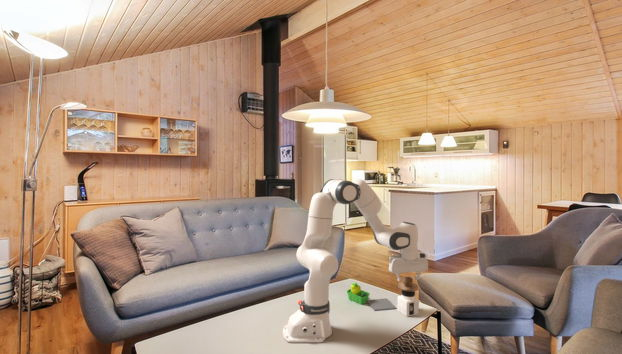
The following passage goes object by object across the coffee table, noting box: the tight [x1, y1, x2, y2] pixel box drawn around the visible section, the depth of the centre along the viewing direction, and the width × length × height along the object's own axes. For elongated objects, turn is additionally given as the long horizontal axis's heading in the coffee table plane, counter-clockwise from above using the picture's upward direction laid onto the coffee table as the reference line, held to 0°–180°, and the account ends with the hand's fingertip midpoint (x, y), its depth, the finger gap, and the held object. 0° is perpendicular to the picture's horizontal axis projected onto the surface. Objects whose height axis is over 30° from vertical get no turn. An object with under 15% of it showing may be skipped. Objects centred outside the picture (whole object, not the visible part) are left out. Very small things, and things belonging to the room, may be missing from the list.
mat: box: [366, 297, 397, 312], centre depth 177 cm, size 12×12×1 cm
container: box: [396, 290, 420, 318], centre depth 168 cm, size 8×8×13 cm
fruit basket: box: [346, 282, 370, 306], centre depth 182 cm, size 11×9×11 cm
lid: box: [397, 276, 419, 292], centre depth 168 cm, size 10×10×5 cm
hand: (408, 280), depth 168 cm, fingers open, 8 cm apart
